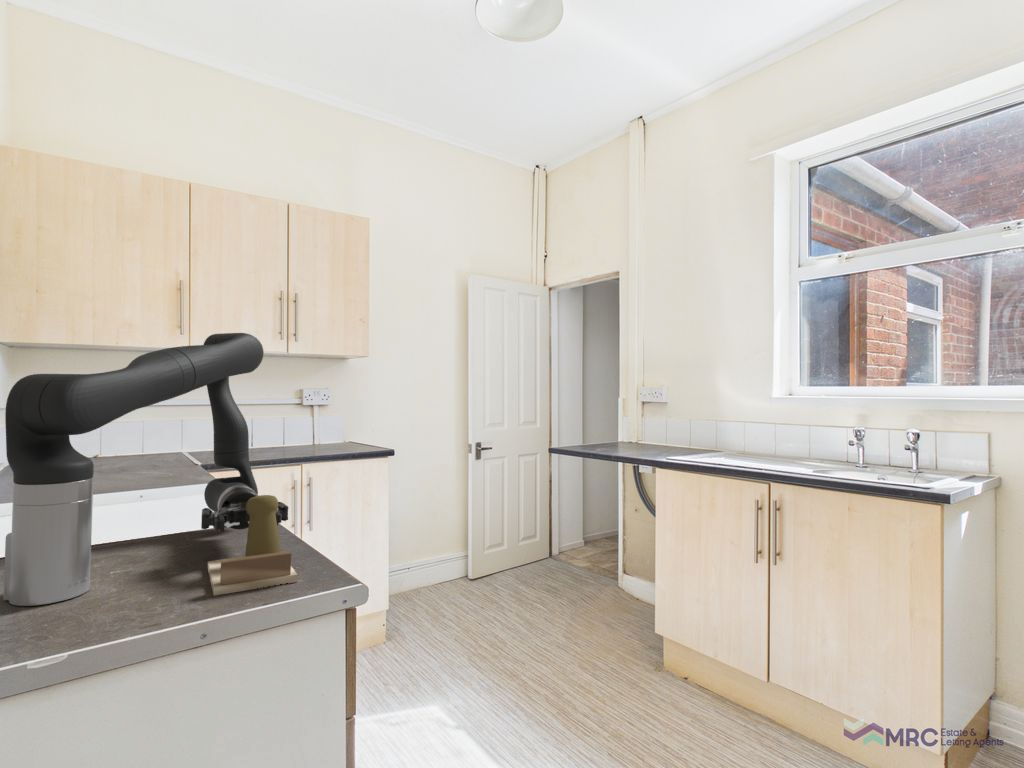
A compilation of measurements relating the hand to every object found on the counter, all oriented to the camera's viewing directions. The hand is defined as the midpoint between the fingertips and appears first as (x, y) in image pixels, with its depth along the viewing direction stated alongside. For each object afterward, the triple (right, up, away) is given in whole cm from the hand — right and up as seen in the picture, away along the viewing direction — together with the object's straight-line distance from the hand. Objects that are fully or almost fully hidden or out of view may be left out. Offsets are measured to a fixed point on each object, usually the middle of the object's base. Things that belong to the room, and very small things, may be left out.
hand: (250, 522), depth 94 cm
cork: (+3, -6, -1) cm, 7 cm away
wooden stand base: (+1, -8, -3) cm, 9 cm away
